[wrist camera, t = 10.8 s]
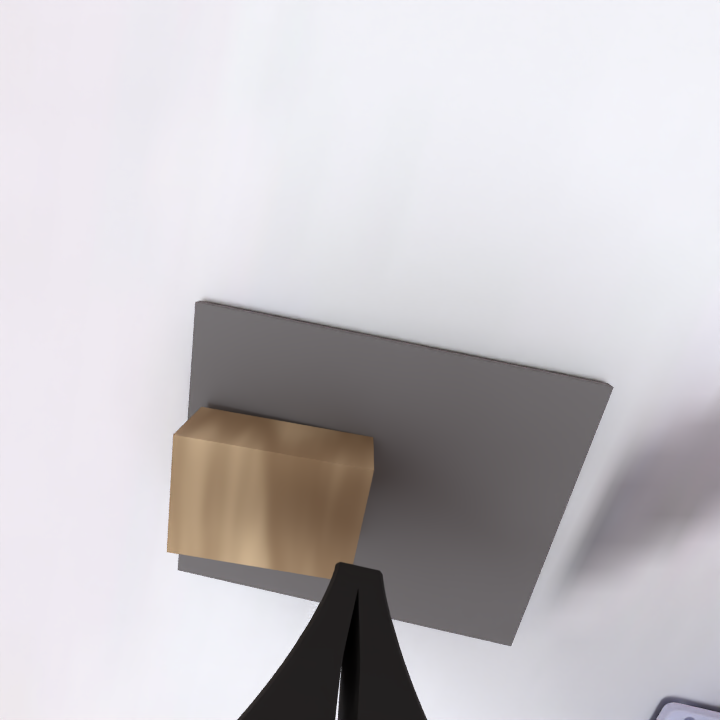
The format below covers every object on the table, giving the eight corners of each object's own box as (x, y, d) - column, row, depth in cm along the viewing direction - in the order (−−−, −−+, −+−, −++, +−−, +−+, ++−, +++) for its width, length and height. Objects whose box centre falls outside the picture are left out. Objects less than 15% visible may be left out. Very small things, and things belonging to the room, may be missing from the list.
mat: (608, 383, 15) (613, 387, 15) (508, 638, 19) (511, 646, 19) (200, 300, 16) (195, 302, 15) (182, 563, 20) (177, 570, 19)
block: (374, 470, 14) (173, 434, 14) (349, 582, 15) (166, 552, 15) (373, 437, 16) (201, 406, 16) (351, 537, 18) (193, 510, 17)
